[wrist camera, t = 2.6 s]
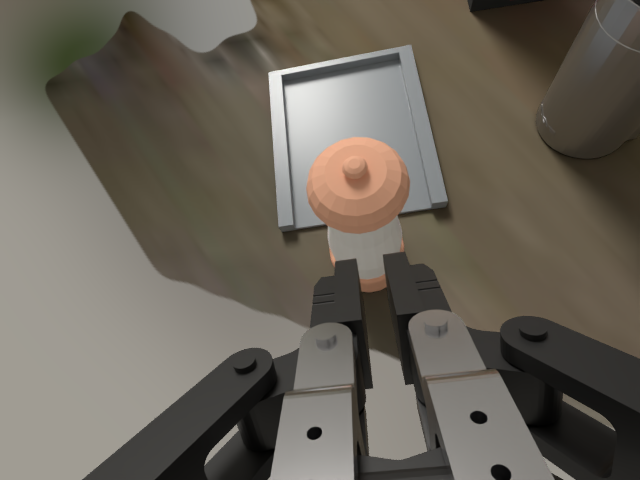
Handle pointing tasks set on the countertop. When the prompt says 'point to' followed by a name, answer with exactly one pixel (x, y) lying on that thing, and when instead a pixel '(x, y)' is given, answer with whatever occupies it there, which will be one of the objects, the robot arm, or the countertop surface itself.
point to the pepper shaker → (360, 203)
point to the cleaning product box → (494, 3)
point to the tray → (351, 125)
